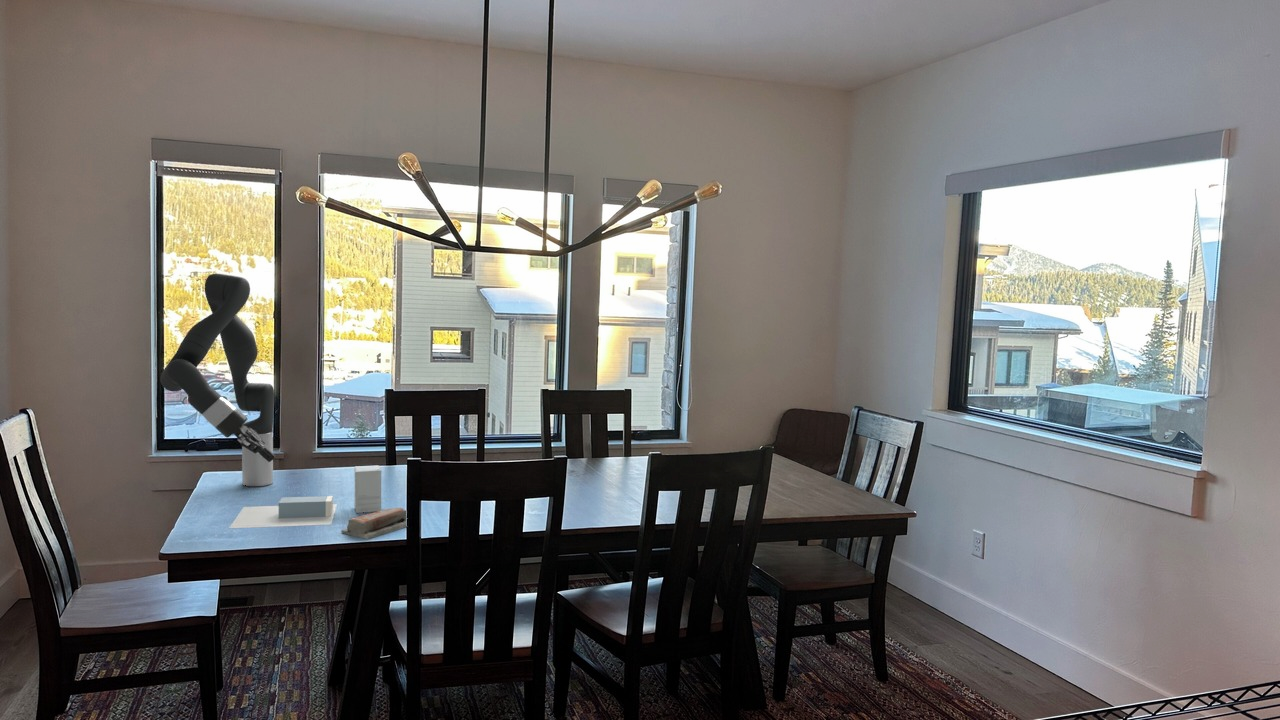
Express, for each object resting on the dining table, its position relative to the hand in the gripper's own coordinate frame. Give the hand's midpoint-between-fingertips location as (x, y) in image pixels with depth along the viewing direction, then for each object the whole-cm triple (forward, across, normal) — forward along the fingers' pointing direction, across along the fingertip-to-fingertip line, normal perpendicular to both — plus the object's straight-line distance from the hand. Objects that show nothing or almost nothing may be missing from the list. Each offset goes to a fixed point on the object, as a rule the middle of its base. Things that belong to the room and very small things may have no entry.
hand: (272, 459), depth 239 cm
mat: (+14, 0, +9) cm, 17 cm away
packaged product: (+33, -16, -8) cm, 38 cm away
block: (+11, 0, +9) cm, 14 cm away
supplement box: (+30, +4, -6) cm, 31 cm away
